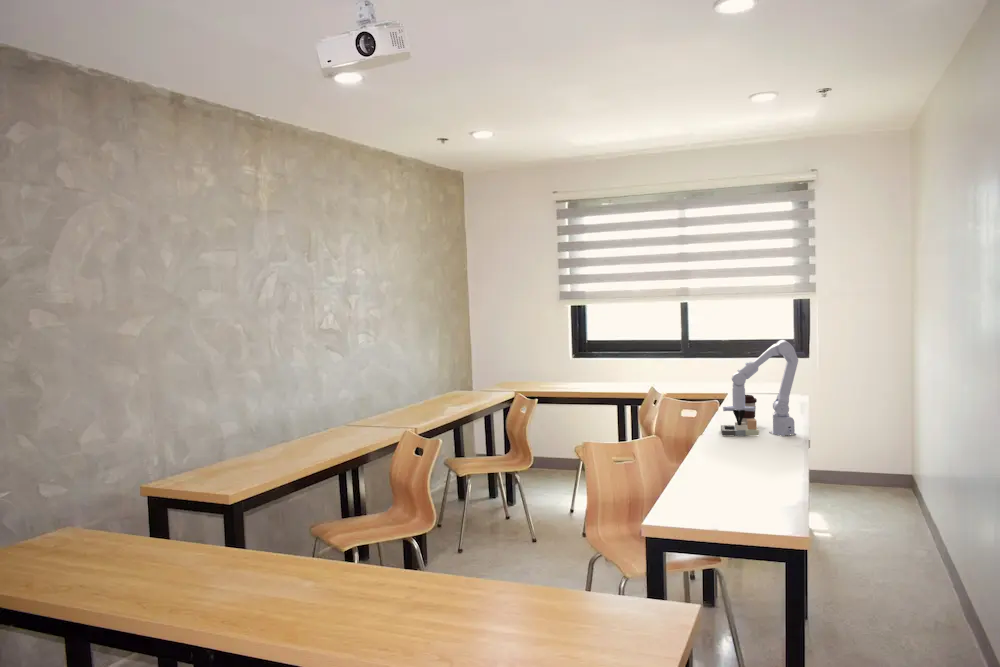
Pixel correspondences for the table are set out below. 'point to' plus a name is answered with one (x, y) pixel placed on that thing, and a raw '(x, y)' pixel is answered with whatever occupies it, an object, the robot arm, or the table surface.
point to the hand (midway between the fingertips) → (739, 426)
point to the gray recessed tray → (732, 430)
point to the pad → (752, 431)
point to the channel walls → (741, 426)
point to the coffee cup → (749, 402)
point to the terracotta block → (751, 424)
